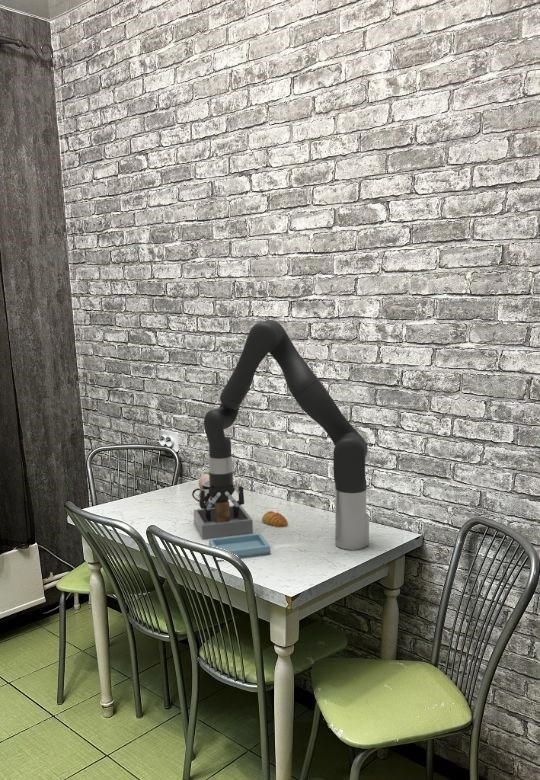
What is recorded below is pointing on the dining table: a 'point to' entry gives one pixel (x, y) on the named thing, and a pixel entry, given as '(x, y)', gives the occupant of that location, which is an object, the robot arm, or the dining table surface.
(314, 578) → the dining table surface
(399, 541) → the dining table surface
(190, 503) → the dining table surface
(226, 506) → the walnut block
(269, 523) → the pastry
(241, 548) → the shallow blue tray
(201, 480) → the decorative fruit
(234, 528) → the low gray crate
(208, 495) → the coffee mug
